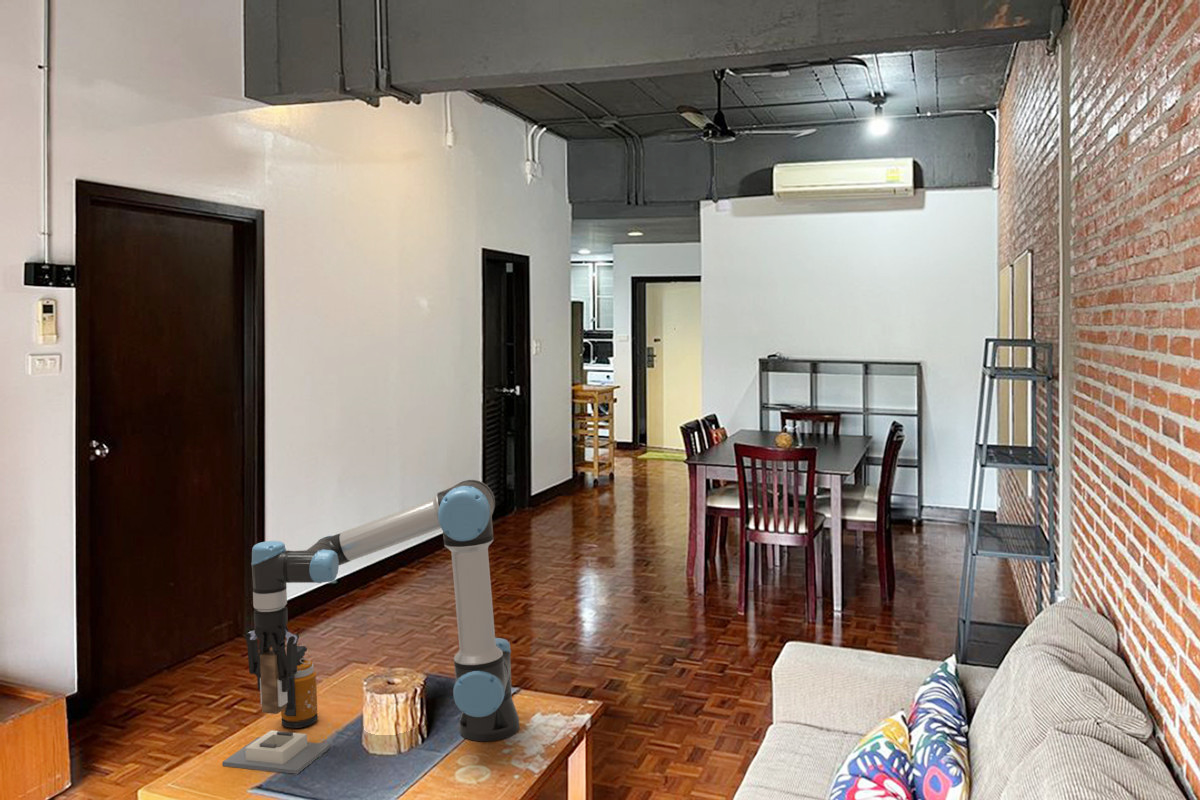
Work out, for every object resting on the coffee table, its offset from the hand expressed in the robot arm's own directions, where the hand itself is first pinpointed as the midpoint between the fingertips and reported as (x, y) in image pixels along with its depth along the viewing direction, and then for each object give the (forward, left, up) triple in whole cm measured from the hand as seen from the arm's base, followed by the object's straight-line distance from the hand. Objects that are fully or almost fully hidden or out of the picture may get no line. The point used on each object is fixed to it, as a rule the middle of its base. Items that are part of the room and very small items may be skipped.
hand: (274, 703), depth 224 cm
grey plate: (0, 0, -13) cm, 13 cm away
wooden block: (0, 0, -2) cm, 2 cm away
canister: (+6, -18, -13) cm, 23 cm away
